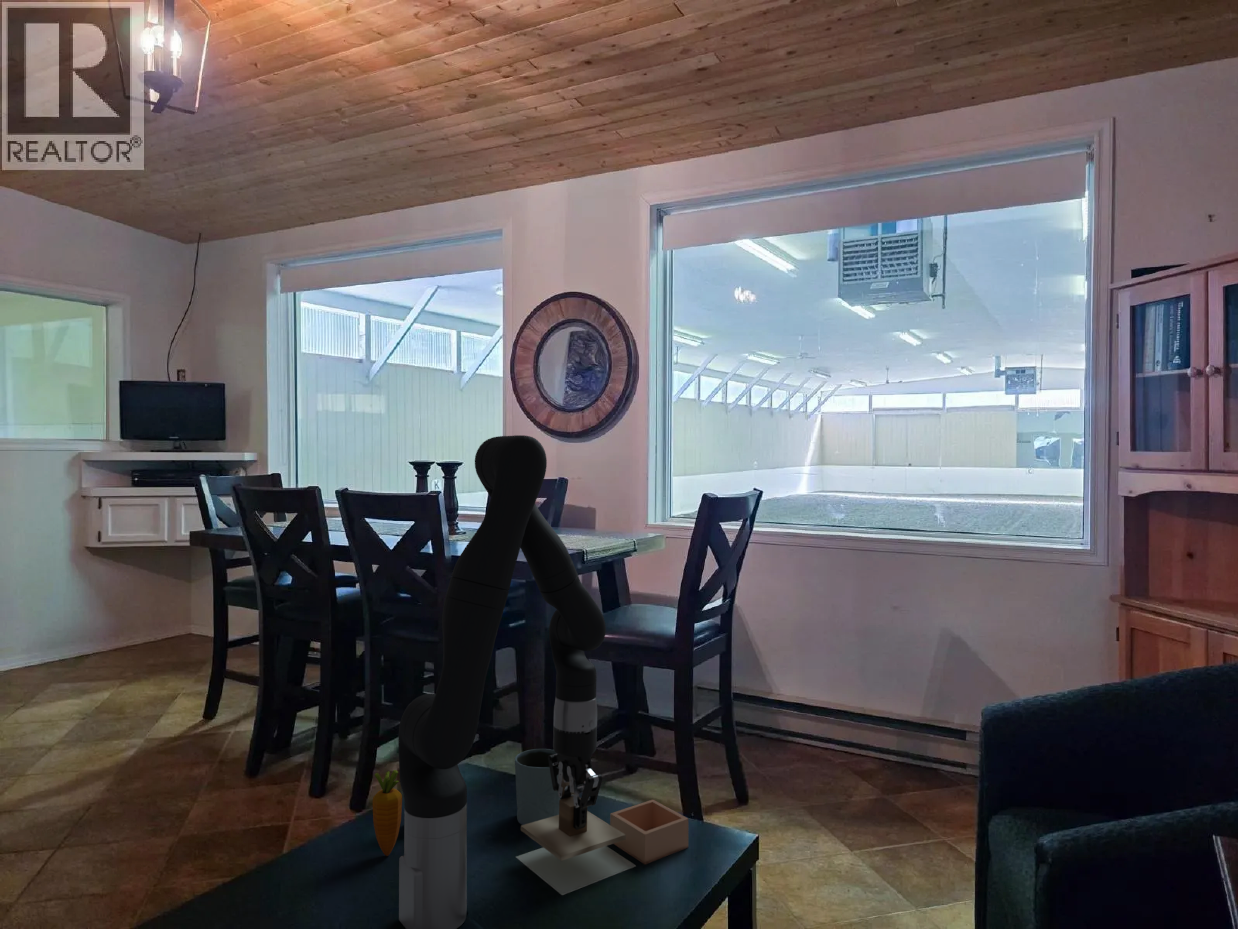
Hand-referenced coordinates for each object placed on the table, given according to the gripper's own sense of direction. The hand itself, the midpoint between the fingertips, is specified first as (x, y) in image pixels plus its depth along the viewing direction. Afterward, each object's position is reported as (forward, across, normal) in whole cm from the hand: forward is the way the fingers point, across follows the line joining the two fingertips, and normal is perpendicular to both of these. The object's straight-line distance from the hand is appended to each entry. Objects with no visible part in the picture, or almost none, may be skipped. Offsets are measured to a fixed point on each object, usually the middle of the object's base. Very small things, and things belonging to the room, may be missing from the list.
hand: (572, 823), depth 132 cm
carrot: (+8, -22, -24) cm, 34 cm away
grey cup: (+7, -18, +5) cm, 20 cm away
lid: (+2, 0, 0) cm, 2 cm away
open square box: (+7, +3, +15) cm, 16 cm away
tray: (+7, 0, +1) cm, 7 cm away
